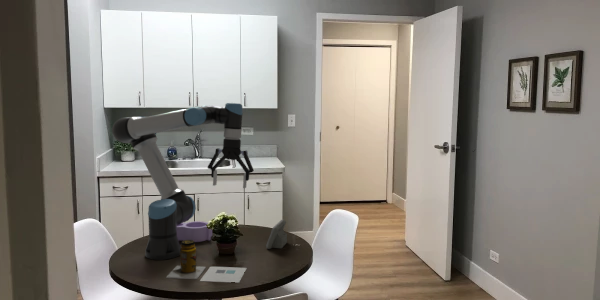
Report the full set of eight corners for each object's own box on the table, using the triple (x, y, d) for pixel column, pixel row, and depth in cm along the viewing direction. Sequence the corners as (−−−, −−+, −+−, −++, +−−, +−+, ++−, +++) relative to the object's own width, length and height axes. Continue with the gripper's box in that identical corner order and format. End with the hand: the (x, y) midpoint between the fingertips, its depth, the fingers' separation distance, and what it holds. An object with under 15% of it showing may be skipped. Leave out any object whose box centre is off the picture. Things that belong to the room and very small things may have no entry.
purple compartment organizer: (167, 242, 224) (167, 228, 223) (172, 234, 236) (172, 221, 235) (209, 242, 225) (209, 228, 224) (213, 234, 237) (212, 221, 237)
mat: (166, 278, 180) (166, 276, 180) (177, 266, 192) (177, 265, 192) (197, 279, 179) (197, 278, 179) (205, 267, 191) (205, 266, 191)
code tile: (199, 282, 177) (199, 280, 177) (210, 267, 192) (210, 266, 192) (239, 283, 176) (239, 282, 176) (246, 269, 191) (246, 267, 191)
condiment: (200, 271, 186) (200, 241, 185) (181, 276, 180) (180, 246, 179) (190, 266, 191) (190, 237, 190) (171, 271, 185) (171, 241, 184)
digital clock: (276, 239, 231) (276, 217, 229) (292, 241, 227) (293, 220, 226) (259, 248, 216) (259, 226, 215) (277, 251, 212) (277, 228, 211)
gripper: (262, 140, 208) (259, 187, 210) (207, 135, 211) (205, 182, 213) (258, 141, 200) (255, 190, 202) (201, 136, 203) (199, 185, 205)
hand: (229, 186), depth 207 cm, fingers open, 13 cm apart
